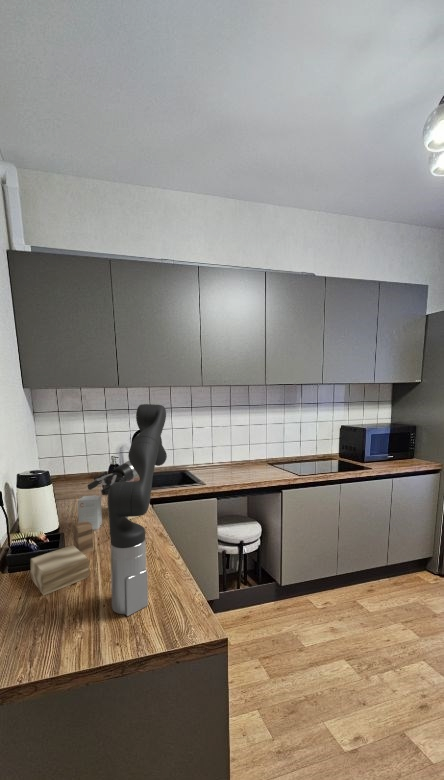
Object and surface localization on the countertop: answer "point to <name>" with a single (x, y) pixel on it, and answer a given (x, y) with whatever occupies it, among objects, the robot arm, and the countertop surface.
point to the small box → (90, 510)
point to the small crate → (83, 537)
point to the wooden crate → (59, 569)
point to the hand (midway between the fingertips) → (95, 490)
